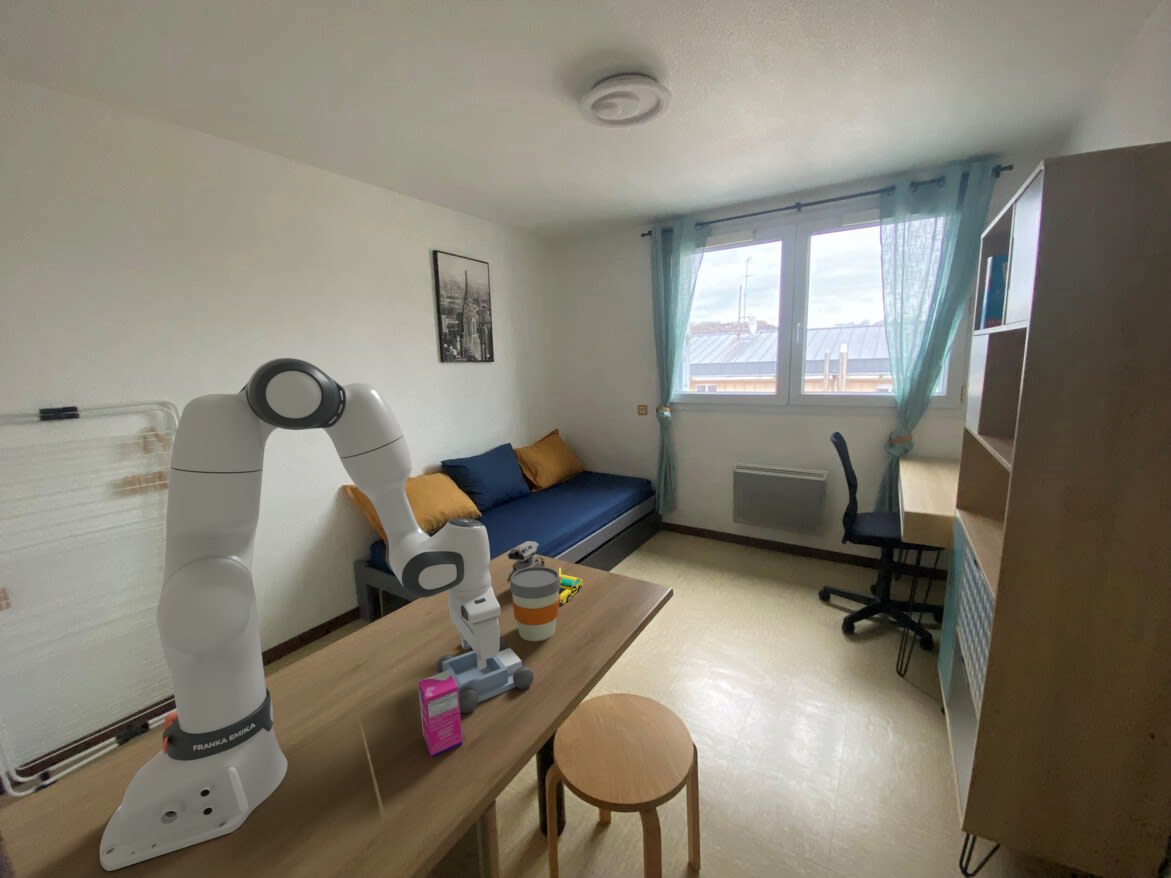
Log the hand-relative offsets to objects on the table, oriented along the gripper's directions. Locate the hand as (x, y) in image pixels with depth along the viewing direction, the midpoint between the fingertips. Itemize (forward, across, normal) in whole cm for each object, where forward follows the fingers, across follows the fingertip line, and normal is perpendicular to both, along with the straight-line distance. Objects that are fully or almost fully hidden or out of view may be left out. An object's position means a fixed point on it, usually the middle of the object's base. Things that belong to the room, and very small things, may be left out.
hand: (473, 657), depth 98 cm
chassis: (+6, 0, +2) cm, 6 cm away
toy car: (+6, -22, +36) cm, 43 cm away
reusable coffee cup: (+6, -10, +20) cm, 23 cm away
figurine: (+6, -32, +28) cm, 42 cm away
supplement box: (+6, +12, -10) cm, 17 cm away
